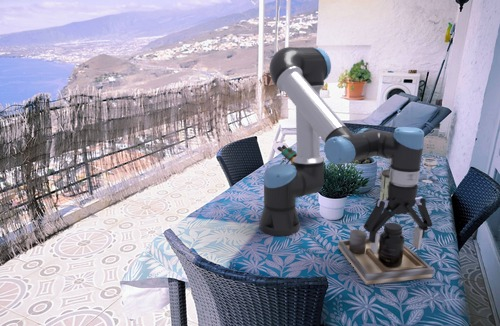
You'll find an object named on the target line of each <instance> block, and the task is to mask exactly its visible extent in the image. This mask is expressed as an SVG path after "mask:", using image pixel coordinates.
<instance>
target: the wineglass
mask: <svg viewBox="0 0 500 326" xmlns="http://www.w3.org/2000/svg"><path fill="white" fill-rule="evenodd" d="M422 159H423V160H422V161H421V164H422V165H423V167H424V168H425V169H426V170H427V176H426V177H427V178H426V179H422V180H421V182H423V183H426V184H432V183H433V181H432V180H430V179H429V176H430V171H431V170H433V169H435V168H436V167H437V165H438V160H439V159H438V158H435V157H430V156H425V157H422Z"/></svg>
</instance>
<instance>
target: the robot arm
mask: <svg viewBox="0 0 500 326" xmlns="http://www.w3.org/2000/svg"><path fill="white" fill-rule="evenodd" d="M268 69H269V76H270V79H271V81H272V82H273V84H274V86H275V87H276V88H277V90H279V91H280V92H284V93H285V94H286V96H287V97H288V98H289V100H290V101H291V102H292V103H293V105H294V106H295V120H296V121H295V125H296V127H295V128H296V129H295V131H296V136H295V137H296V153H297V156H296V157H295V158H294V159H293V165H291V164H292V163H288V164H286V163H282V164H280V163H279V164H274V165H271V166H269V167H267V169H266V170H265V171H264V174H263V210H262V212H261V216H260V219H259V228H260V230H261V231H262V232H263V233H265V234H268V235H271V236H276V237H277V236H278V237H284V236H292V235H294V234H296V233H297V232H298V231H299V230H300V227H301V226H300V224H301V223H300V218H299V216H298V215H299V214H298V212H297V209H296V202H297V201H296V199H298V198H301V197H304V196H308V195H312V194H317V193H319V192H321V191H322V190H321V189H322V188H323V185H324V173H323V172H324V166H323V163H325V161H324V158H323V157H322V156H321V155H320V154H321V153H320V152H321V151H320V147H321V145H320V141H321V140H322V141H323V142H324V146H323V152H324V153H325V158H326V159H327V160H328V162H330V163H331V164H334V165H340V164H342V165H343V164H349V163H351V162H354V161H355V162H356V161H359V160H364V159H369V158H373V157H380V158H383V159H388V160H389V159H391V168H390V175H389V180H390V182H389V185H388V198H387V200H381V199H380V198H377V199H376V202H375V206H374V207H373V209H372V211H371V212H370V214H369V216H368V218H367V220H366V221H365V223H364V224H363V228H364V229H365V230H366V232H367V233H368V234H369V236H368V238H369V241H370V242H371V248H370V249H371V250H372V251H373V253H374V254H377V251H378V242H379V237H380V233H379V230H380V229H381V228H382V227H384V226H385V224H386V223H388V221H389V220H390V219H391V218H393V217H394V216H395V215H396V216H398V215H399V216H400V215H407V213H408V214H409V216H410V217H411V218H412V220H413V221H414V222H415V223H416V225H415V226H414V231H413V239H412V246H413V247H414V248H415V249H416V250H417V251H418V250H419V251H420V250H421V246H422V239H424V238H425V232H426V231H428V230H429V228H431V227H433V222H432V219H431V217H430V214H429V211H428V208H427V206H426V204H427V203H426V202H427V199H426V198H424V197H423V196H421V195H417V194H418V188H419V186H418V184H419V180H420V173H421V164H422V159H423V151H424V148H425V145H424V144H425V143H424V141H425V131H424V130H423V129H421V128H418V127H412V126H411V127H410V126H399V127H396V128H395V129H394V131H393V132H389V131H386V130H380V129H375V128H367V127H366V128H362V129H360V130H358V131H357V133H353V132H352V131H351V130H350V129H349V128H348V127H347V126H346V124H345V123H344V122H343V121H342V120H341V119H340V117H338V115H337V114H336V113H335V112H334V110H332V108H331V107H330V106H329V105H328V104H327V102H326V101H325V100H324V99H323V98H322V97H321V95H320V94H321V90H322V89H323V88H324V87H325V80H326V79H327V78H328V77H329V75H330V74H331V71H332V70H331V69H332V63H331V59H330V56H329V54H328V53H327V52H326V50H324V49H322V48H319V47H313V46H309V47H307V46H305V47H304V46H303V47H296V46H295V47H292V46H287V47H282V48H281V49H279V50H278V51H276V52H275V53H274V55H273V56H272V57H271V60H270V63H269V67H268ZM320 138H321V139H320ZM325 165H326V169H328V168H327V166H328V165H327V164H326V163H325ZM320 190H321V191H320ZM386 205H387V207H386ZM415 205H417V209H418V211H419V215H420V216H421V217H420V216H419V215H418V214H417V211H416V210H415V209H414V206H415Z"/></svg>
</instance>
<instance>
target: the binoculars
mask: <svg viewBox="0 0 500 326" xmlns="http://www.w3.org/2000/svg"><path fill="white" fill-rule="evenodd" d="M276 149H277V150H278V151H279V152H281V155H282V156H283V158H282V159H281V162H280V163H279V164H284V163H285V164H291V165H293V159H294V158H295V157H296V156H297V151H295V150H294V149H293V148H292V147H287V146H286V145H285V144H282V147H281V146H278V147H277V148H276Z"/></svg>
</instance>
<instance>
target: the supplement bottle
mask: <svg viewBox="0 0 500 326" xmlns="http://www.w3.org/2000/svg"><path fill="white" fill-rule="evenodd" d="M379 237H380V240H379V251H378V259H379V260H380V262H381V263H382V264H383V265H384V266H386V267H391V268H396V267H399V266H400V265H401V264H402V259H403V250H404V244H405V242H406V239H405V236H404V235H403V227H402V225H401V224H398V223H395V222H386V223H385V224H384V225H383V230H382V232H381V233H379Z"/></svg>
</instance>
